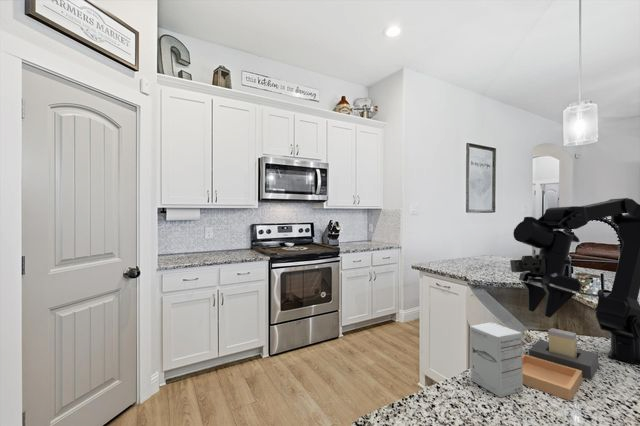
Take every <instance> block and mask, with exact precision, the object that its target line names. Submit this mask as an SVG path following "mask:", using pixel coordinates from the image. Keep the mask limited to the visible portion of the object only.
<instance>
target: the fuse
mask: <svg viewBox="0 0 640 426" xmlns="http://www.w3.org/2000/svg"><path fill="white" fill-rule="evenodd" d="M548 342H549V351H551V352H554V353H558V354H562V355H566V356H570V357H573V358H577V349H578V346H577V333H576V332H573V331H566V330H562V329H559V328H553V327H551V328H550V329H548Z"/></svg>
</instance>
